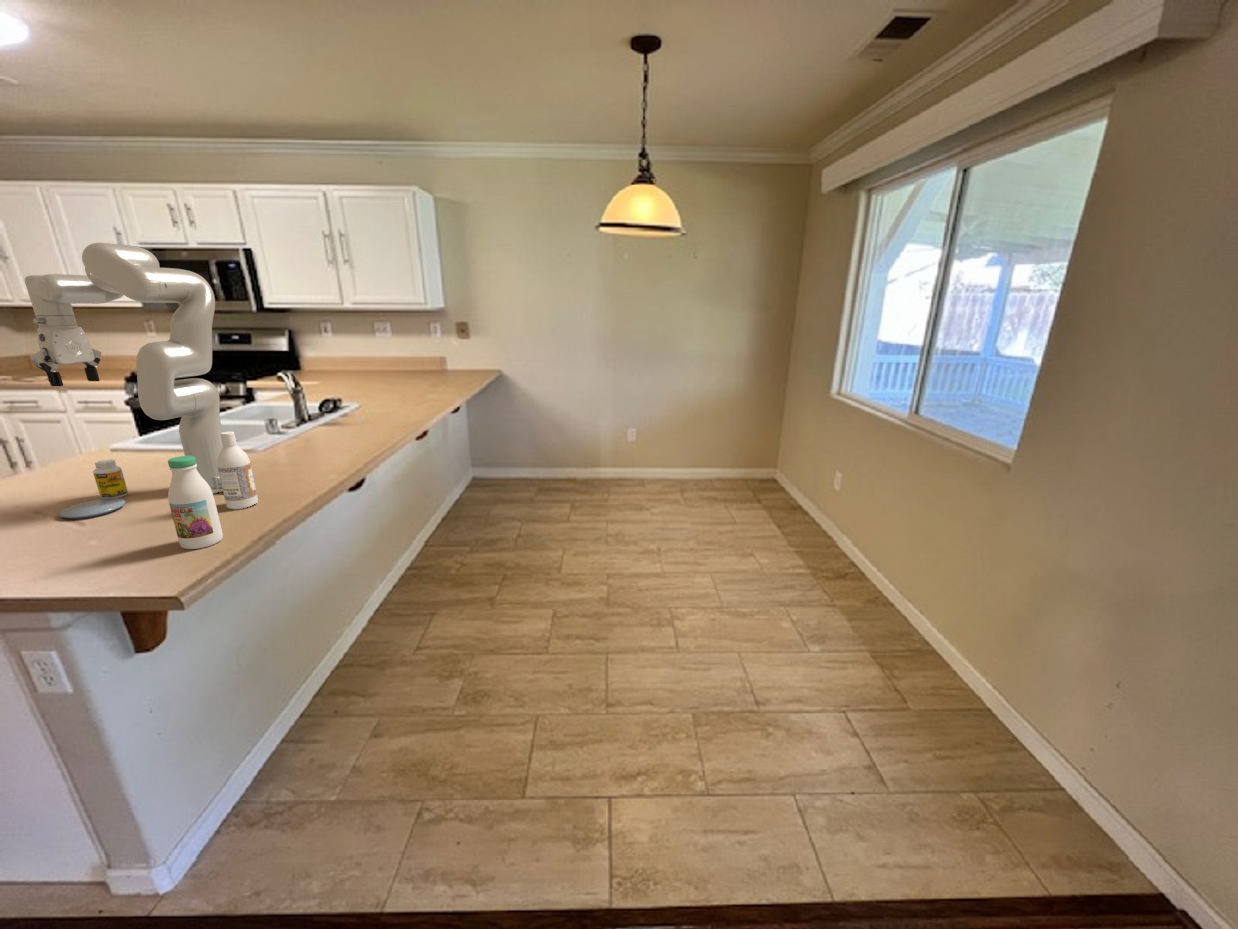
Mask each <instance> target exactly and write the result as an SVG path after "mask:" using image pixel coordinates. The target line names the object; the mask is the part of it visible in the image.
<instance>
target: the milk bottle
mask: <svg viewBox="0 0 1238 929" xmlns="http://www.w3.org/2000/svg"><path fill="white" fill-rule="evenodd" d="M167 465H168V467H169V470H170V471H171V475H172V476H171V482H170V484H169V487H168V492H167V497H168V498H167V499H168V504H169V508H170V512H171V516H172V520H173V525H174V528H175V532H176V536H177V538H178V543H179V546H180V548H182V549H185V550H198V549H203V548H206V547H211V546H213V545H216V544H217V543H220V542H221V541H222V540H223V537H224V534H223V530H222V526H221V521H220V517H219V513H218V512H219V511H218V509H217V504H216V501H215V497H214V494H213V493H212V490H211V488H210V486H209V485H208V483H207V482H206V481H205V480H204V479H203V478H202V477H201V475H200V474H199V473H198V471H197V469H196V466H197V465H196V459H195V457H194V456H185V455H181V456H175V457H172V458H170V459H168V460H167ZM220 540H221V541H220ZM219 541H220V542H219Z"/></svg>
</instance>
